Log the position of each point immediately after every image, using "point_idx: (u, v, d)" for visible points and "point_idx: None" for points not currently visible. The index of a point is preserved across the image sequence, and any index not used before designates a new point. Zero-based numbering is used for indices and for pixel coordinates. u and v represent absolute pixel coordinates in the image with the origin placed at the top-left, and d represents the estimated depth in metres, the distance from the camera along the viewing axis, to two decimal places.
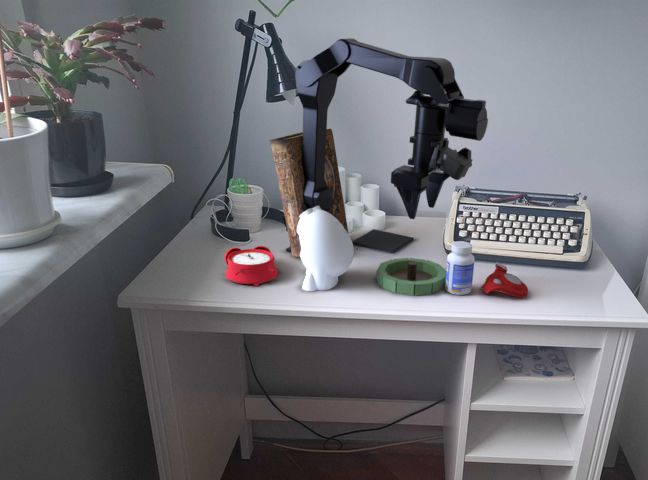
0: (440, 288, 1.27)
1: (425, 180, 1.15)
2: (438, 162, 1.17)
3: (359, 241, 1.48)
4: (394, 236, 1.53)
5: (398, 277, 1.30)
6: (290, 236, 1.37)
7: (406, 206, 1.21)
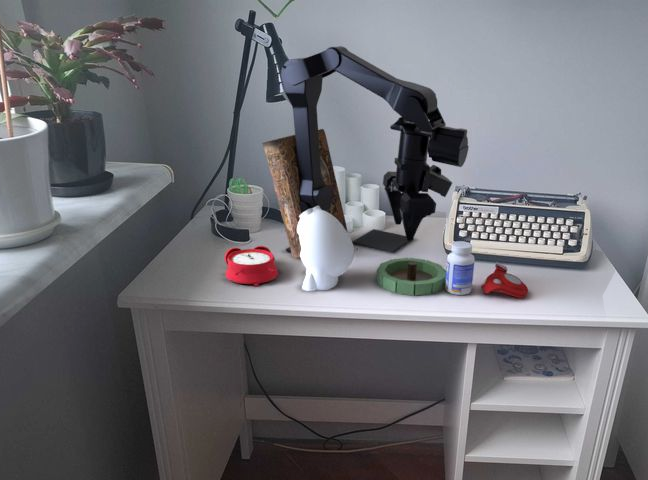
0: (440, 288, 1.27)
1: None
2: (430, 184, 1.25)
3: (359, 241, 1.48)
4: (394, 236, 1.53)
5: (398, 277, 1.30)
6: (289, 237, 1.37)
7: (407, 230, 1.25)
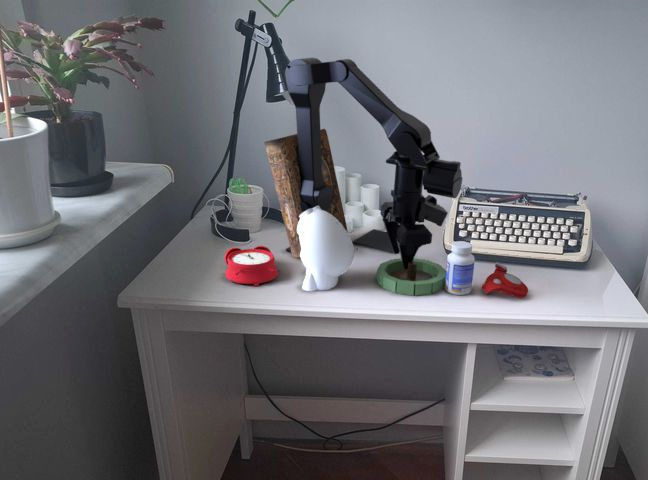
0: (440, 288, 1.27)
1: None
2: (426, 214, 1.28)
3: (359, 241, 1.48)
4: None
5: (398, 277, 1.30)
6: (289, 237, 1.37)
7: (404, 259, 1.29)
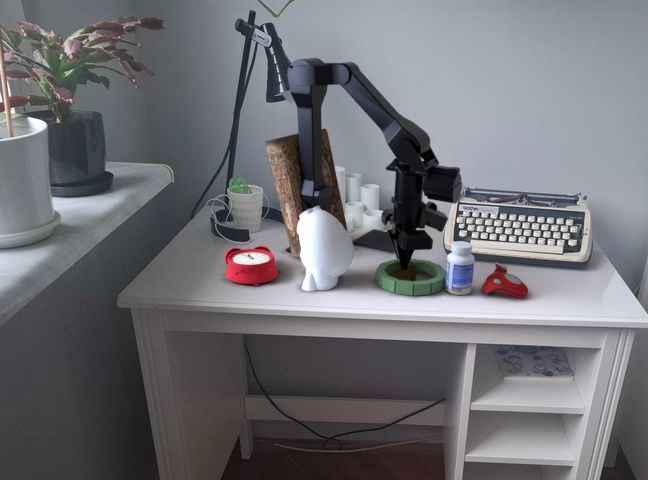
0: (439, 288, 1.27)
1: None
2: (427, 220, 1.28)
3: (359, 241, 1.48)
4: None
5: (398, 277, 1.30)
6: (289, 237, 1.37)
7: (401, 259, 1.32)
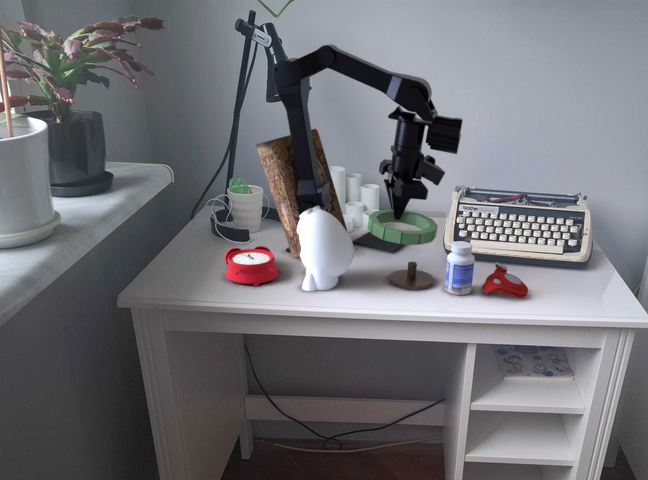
0: (428, 241, 1.28)
1: None
2: (424, 172, 1.30)
3: (359, 241, 1.48)
4: None
5: (398, 277, 1.30)
6: (287, 237, 1.38)
7: (395, 209, 1.33)
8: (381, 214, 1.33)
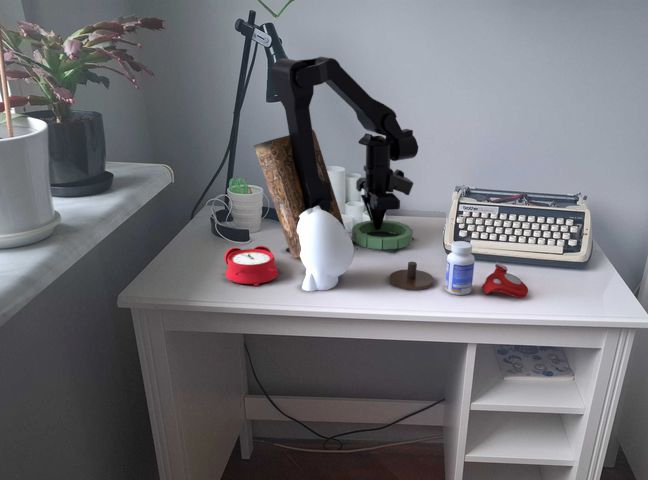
0: (406, 244, 1.47)
1: None
2: (395, 185, 1.49)
3: None
4: (394, 236, 1.53)
5: (398, 277, 1.30)
6: (287, 238, 1.37)
7: (375, 221, 1.52)
8: (363, 225, 1.52)
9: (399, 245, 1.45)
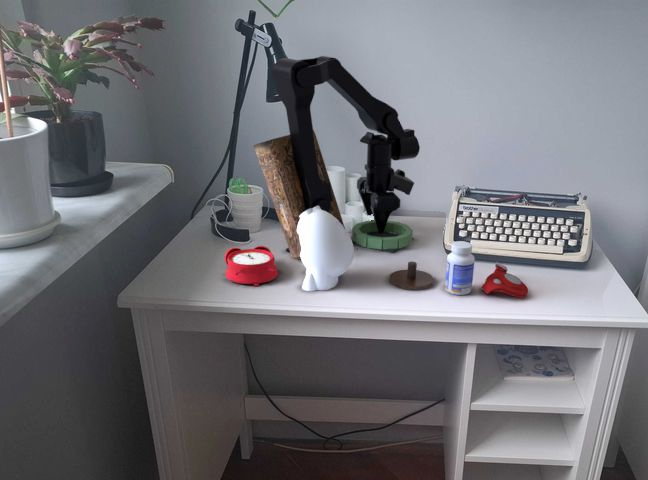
0: (406, 244, 1.47)
1: None
2: (395, 184, 1.48)
3: None
4: (394, 236, 1.53)
5: (398, 277, 1.30)
6: (287, 238, 1.37)
7: (378, 224, 1.49)
8: (363, 225, 1.52)
9: (399, 245, 1.45)
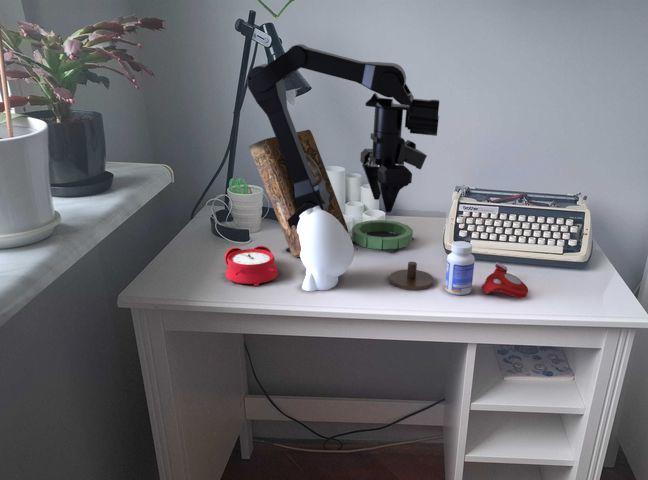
0: (406, 244, 1.47)
1: None
2: (406, 156, 1.30)
3: None
4: (394, 236, 1.53)
5: (398, 277, 1.30)
6: (286, 236, 1.38)
7: (385, 202, 1.31)
8: (363, 225, 1.52)
9: (399, 245, 1.45)
